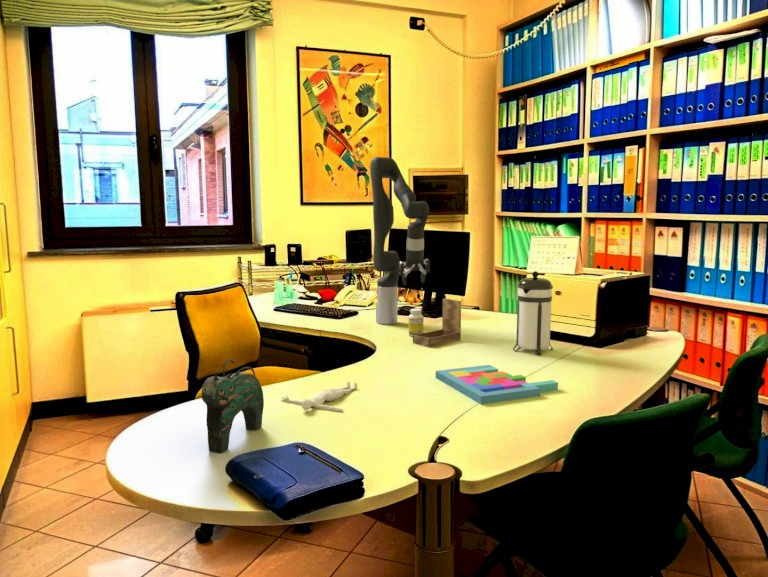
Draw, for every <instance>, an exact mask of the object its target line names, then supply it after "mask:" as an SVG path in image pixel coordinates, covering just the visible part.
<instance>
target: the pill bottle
mask: <svg viewBox="0 0 768 577" xmlns="http://www.w3.org/2000/svg"><path fill="white" fill-rule="evenodd" d="M422 310H423V309H422V308H410V310H409V312H410V314H409V315H408V336H410V337H413V335H415V334H420V333H424V315H423V314H422V313H423V312H422Z"/></svg>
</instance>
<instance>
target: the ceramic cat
mask: <svg viewBox="0 0 768 577" xmlns="http://www.w3.org/2000/svg"><path fill="white" fill-rule="evenodd" d="M228 362H231V363H232V364H235V360H234V359H231V358H230V359H229V358H228V359H226V360H225V361H224V362H223V364H222V365H223V366H222V373H223V376H218V375H214V376H210V377H207V378H206V379H205V381H204V382H203V384H202V387H201V400H202V402H203V403H204V404H205V405H206V430H207V445H208V451H209V452H212V453H216V454H223V453H224V452H225V451H227V450H229V445H230V436H231V435H230V434H231V430H232V427H233V422H234V419H235V418H236V417H237V415H238V414H239V413H240V412H241V413H242V415H243V419H244V426H245V430H248V431H253V432H255V431H258V430H260V429H261V428H262V425H263V413H264V404H265V401H264V392H263V388H262V385H261V382H260V381H259V379H258V377H257V376H256V372H255V370H254V368H253V367H250V366H245V367H241V368H240V369H238V370H237V372H235V373H229V374H227V375H226V374H225V367H226V365H227V364H228ZM243 370H250V371H251V372H252V373H247V372H246V373H245V372H242V371H243Z"/></svg>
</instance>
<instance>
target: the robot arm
mask: <svg viewBox="0 0 768 577" xmlns="http://www.w3.org/2000/svg"><path fill="white" fill-rule="evenodd" d="M369 172H370V174H369V175H370V182H371V190H372V204H373V205H372V210H373V211H372V213H373V216H372V217H373V238H374V239H373V256H372V258H373V259H372V260H373V267H374V269H375V271H377V272H379V273H380V272H381V273H382V272H386V274H385V275H384V276H383V277H381V278H379V279H378V280H377V282H376V283H377V284H376V285H377V286H376V287H377V290H376V291H377V292H376V293H377V296H376V297H377V300H376V302H375V322H376V323H377V324H380V325H396V324H398V282H399V276H400V277H401V278H402V279H401V282H402V284H403V285H404V286H407V283H408V275H409V274H410V273H411V271H412V272H414V271H420V272H421V273H420V282H421V283H423V284H425V282H426V280H427V279H426V276H427V274H430V272H431V262H430V261H431V260H430V259H428V258H425V259H424V256H425V255H424V253H425V252H424V251H425V227H426V225H427V220H428V218H429V214H430V207H429V205H428V203H427V201H424V200H420V201H416V200H417V196H416V194H415V192H414V191H413V190H412V188H411V187H410V186H409V185H408V183H407V182H406V180H405V178H404V175H403V174H402V172H401V170H400V168H399V166H398V164H397V162H396V160H394V159H393V158H391V157H388V156H387V157H384V156H382V157H381V156H375V157H373V158H372V159H371V161H370V164H369ZM383 179H390V180H391V181H392V182H393V193H394V196H395V197H396V198H397V199H398V202H399V203H400V205H401V207H402V210H403V213H404V214H403V215H405V217H406V218H407V219H410V220H414V219H415V220H414V221H413V222H411V223H410V224H408V225H407V235H406V236H407V237H406V248H405V250H406V252H405V261H401V260H400V257H399V254H398V252H397V251H396V250H386V251H385V242H386V239H387V237H388V234H389V233H390V231H391V229H392V227H393V225H394V222H395V220H394V219H395V216H394V212H395V211H394V206H393V203H392V201H391V200H390V198H389V196H388V194H387V192H386V191H385V189H384V183H383ZM423 265H424V268H423Z"/></svg>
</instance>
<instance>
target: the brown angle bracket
mask: <svg viewBox="0 0 768 577" xmlns="http://www.w3.org/2000/svg"><path fill="white" fill-rule="evenodd" d="M441 317H442V321H441V322H442V324H441V325H442V326H441V327H442V328H441V329H435V330H431V331H426V332H425V331H424V332H423V333H420V334H415V335H413V336H412V344H414V343H415V345H418V344H419V345H420V346H423V345H424V346H423V347H427V346H428V348H432V347H436V345H437V346H441V345H445V343H446V344H450V343H454V341H455V342H460V341H461V340H462V339H461V336H462V335H461V334H462V331H461V330H462V329H461V327H462V323H461V322H462V300H457V299H456V300H455V299H451V298H442V316H441ZM431 346H432V347H431Z"/></svg>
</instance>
